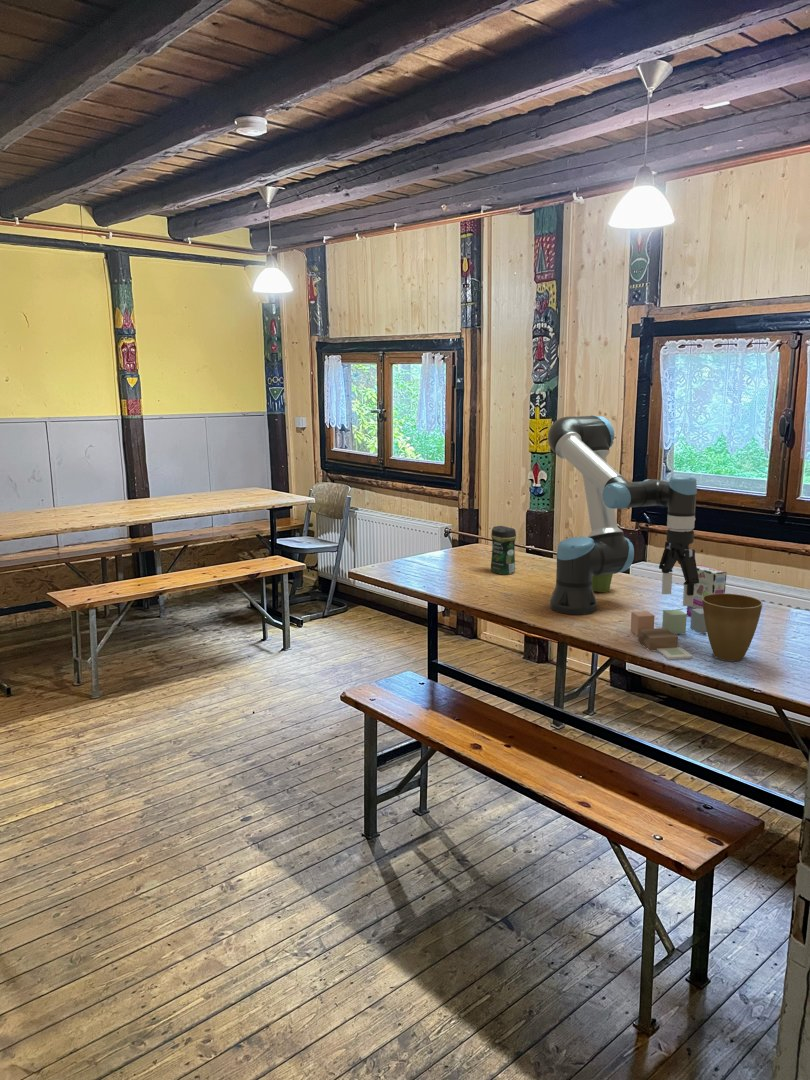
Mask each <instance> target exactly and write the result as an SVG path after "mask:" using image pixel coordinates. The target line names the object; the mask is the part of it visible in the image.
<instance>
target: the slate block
mask: <svg viewBox="0 0 810 1080" xmlns="http://www.w3.org/2000/svg"><path fill="white" fill-rule="evenodd" d="M689 627H690V629H691V628H692V629H691V630H693V631H695V632H697V634H703V633H704V632H707V630H706V625H705V619H704V612H703V609H692V610H691V617H690V626H689ZM704 634H705V633H704Z"/></svg>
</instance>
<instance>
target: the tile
mask: <svg viewBox="0 0 810 1080" xmlns="http://www.w3.org/2000/svg"><path fill="white" fill-rule="evenodd" d="M658 651H659V652H660V653H659V652H658ZM656 652H658V653H659V654H660V655H662V654H663V655H664V656H665V658H666V659H667V660H682V659H683V660H684V659H693V658H694V655H692V654H691V653H690V652H688V651H686V650H685V649H684V648H683V647H682V646H681V647H678V648H657V651H656ZM663 655H662V656H663ZM664 656H663V657H664Z"/></svg>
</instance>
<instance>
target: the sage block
mask: <svg viewBox="0 0 810 1080" xmlns="http://www.w3.org/2000/svg"><path fill="white" fill-rule="evenodd" d="M687 617H688V616H687V612H684V611H683V610H681V609H665V610H664V609H663V610H662V626H661V628H666V629H667V630H669V631H670V632H672V633H673V634H675V635H679V634H678V633H683V634H685V633H686V632H687ZM683 634H682V635H683ZM686 634H687V633H686Z"/></svg>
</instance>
